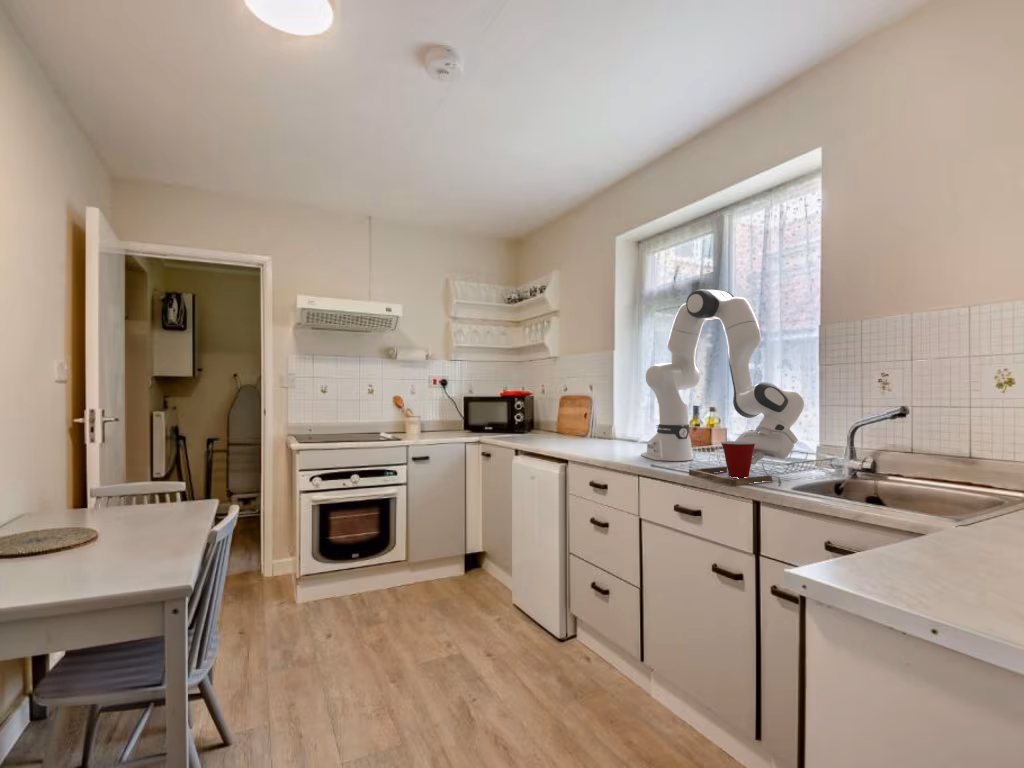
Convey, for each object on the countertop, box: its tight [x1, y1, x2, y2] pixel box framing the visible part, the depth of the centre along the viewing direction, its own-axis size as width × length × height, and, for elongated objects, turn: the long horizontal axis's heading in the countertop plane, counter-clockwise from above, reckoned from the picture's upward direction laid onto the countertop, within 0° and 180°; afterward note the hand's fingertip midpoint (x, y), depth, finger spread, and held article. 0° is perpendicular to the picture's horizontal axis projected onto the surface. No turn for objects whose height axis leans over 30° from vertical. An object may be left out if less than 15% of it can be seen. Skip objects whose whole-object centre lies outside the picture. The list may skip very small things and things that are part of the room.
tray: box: [688, 465, 773, 487], centre depth 163 cm, size 20×15×2 cm
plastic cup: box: [719, 440, 756, 478], centre depth 164 cm, size 11×11×12 cm
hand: (749, 462), depth 166 cm, fingers closed, pressing on plastic cup
